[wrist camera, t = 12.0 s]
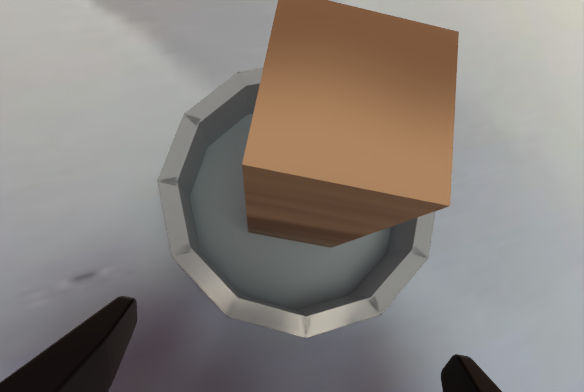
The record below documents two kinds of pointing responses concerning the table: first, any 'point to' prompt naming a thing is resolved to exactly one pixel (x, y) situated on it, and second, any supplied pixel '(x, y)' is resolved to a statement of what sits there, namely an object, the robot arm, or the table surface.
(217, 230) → the shallow grey bowl
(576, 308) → the table surface
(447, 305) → the table surface
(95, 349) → the robot arm
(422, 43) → the walnut block
